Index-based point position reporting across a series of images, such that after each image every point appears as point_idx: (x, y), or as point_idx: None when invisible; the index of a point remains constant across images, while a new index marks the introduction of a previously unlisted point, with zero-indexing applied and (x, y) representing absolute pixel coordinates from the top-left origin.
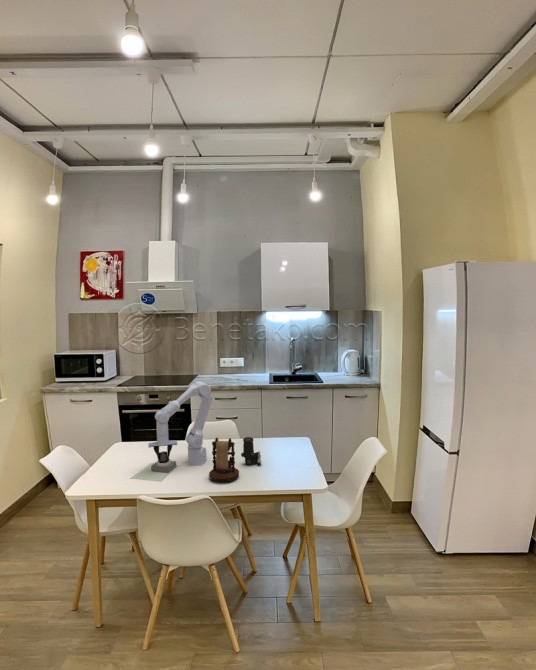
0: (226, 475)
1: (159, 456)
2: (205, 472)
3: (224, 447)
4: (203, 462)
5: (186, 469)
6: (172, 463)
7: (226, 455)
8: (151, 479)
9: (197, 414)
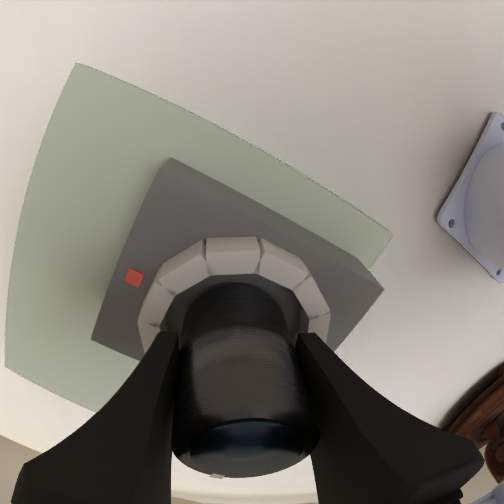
0: (479, 448)
1: (173, 391)
2: (471, 360)
3: None
4: None
5: (414, 306)
6: (333, 338)
7: None
8: None
9: None
